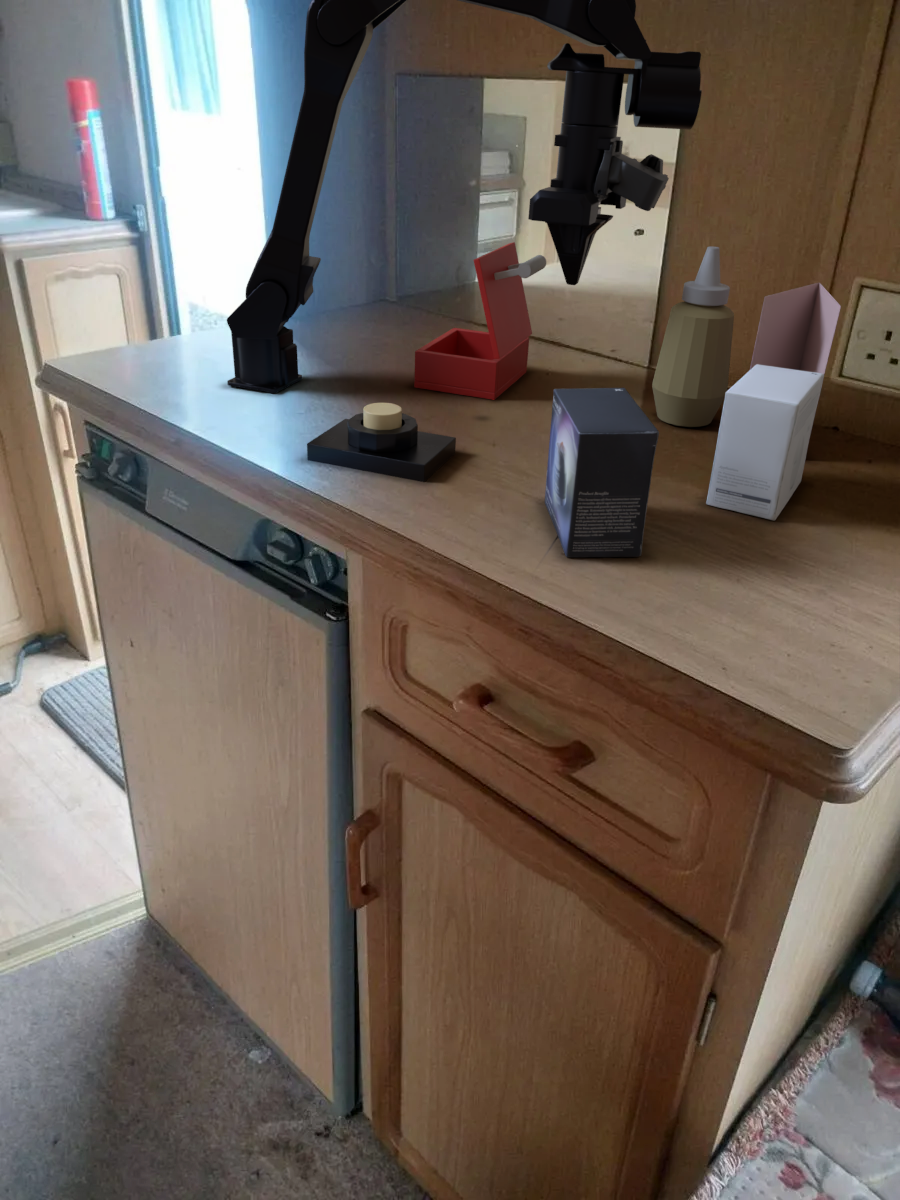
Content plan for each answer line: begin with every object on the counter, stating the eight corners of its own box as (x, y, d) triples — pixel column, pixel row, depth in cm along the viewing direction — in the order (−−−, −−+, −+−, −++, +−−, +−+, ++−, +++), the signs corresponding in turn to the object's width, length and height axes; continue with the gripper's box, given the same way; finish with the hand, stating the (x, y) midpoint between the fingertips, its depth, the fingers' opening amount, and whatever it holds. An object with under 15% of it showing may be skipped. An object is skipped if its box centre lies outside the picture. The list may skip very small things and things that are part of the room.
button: (357, 429, 85) (356, 411, 84) (373, 417, 88) (373, 400, 87) (392, 435, 84) (392, 417, 83) (407, 423, 87) (407, 405, 86)
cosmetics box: (733, 468, 89) (755, 360, 83) (800, 483, 86) (828, 373, 81) (701, 504, 81) (723, 388, 76) (774, 522, 78) (803, 403, 73)
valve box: (414, 387, 107) (414, 351, 105) (452, 361, 117) (453, 327, 115) (494, 400, 104) (496, 362, 102) (526, 372, 114) (529, 337, 112)
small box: (538, 502, 80) (549, 385, 75) (611, 502, 80) (627, 385, 75) (561, 558, 71) (575, 429, 65) (643, 558, 71) (664, 430, 66)
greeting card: (779, 420, 102) (811, 281, 94) (844, 438, 97) (882, 293, 90) (726, 444, 94) (756, 295, 87) (793, 464, 90) (831, 309, 82)
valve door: (473, 259, 98) (517, 249, 96) (509, 243, 108) (550, 234, 106) (494, 359, 102) (537, 352, 100) (527, 334, 112) (566, 327, 110)
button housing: (307, 460, 86) (305, 425, 85) (345, 434, 93) (344, 400, 91) (424, 482, 83) (425, 446, 81) (455, 453, 89) (457, 419, 88)
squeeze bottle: (727, 415, 102) (760, 246, 93) (713, 437, 96) (748, 257, 87) (656, 403, 105) (682, 238, 96) (638, 424, 99) (664, 248, 90)
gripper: (652, 134, 82) (627, 310, 90) (683, 127, 98) (659, 278, 106) (534, 125, 86) (520, 296, 94) (582, 120, 101) (566, 267, 109)
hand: (572, 284), depth 100 cm, fingers closed
